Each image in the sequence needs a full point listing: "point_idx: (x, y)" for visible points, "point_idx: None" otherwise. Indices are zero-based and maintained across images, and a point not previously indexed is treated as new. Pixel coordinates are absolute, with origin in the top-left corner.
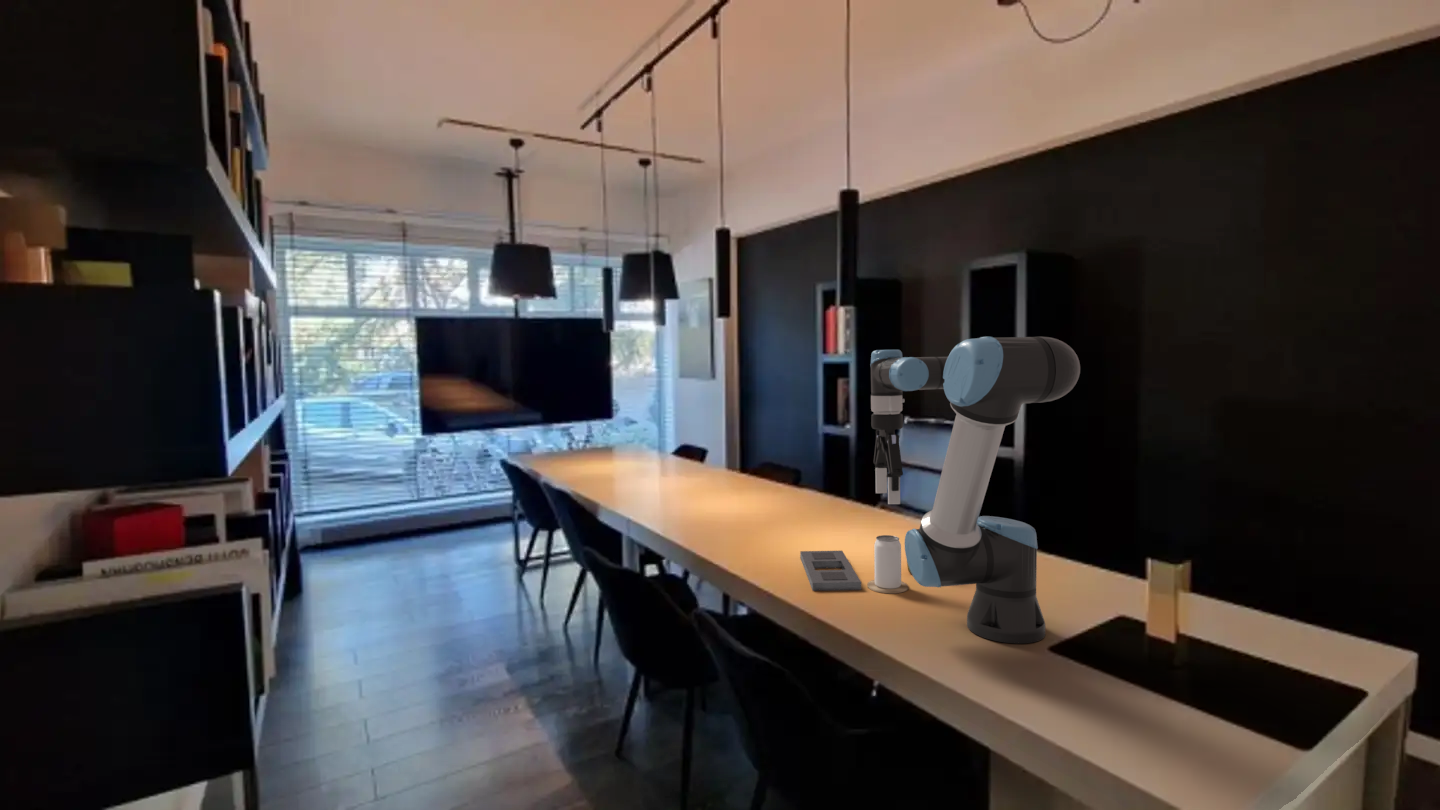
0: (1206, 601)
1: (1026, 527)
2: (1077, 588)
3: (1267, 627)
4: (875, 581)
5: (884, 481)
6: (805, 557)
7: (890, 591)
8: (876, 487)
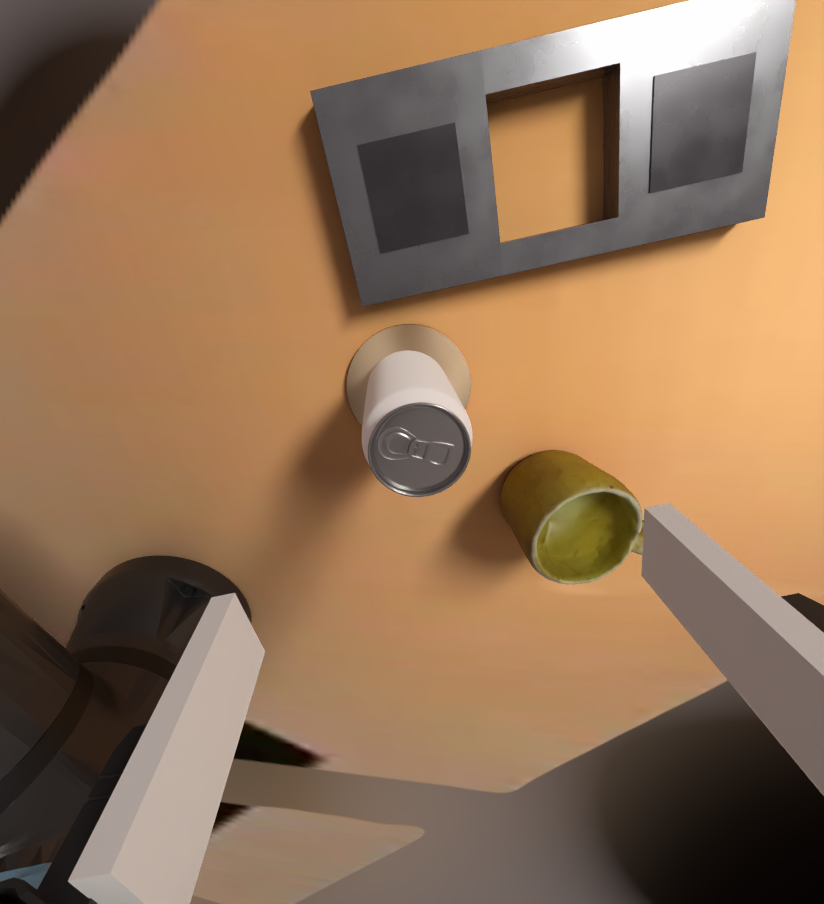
0: (412, 836)
1: None
2: (453, 729)
3: (318, 860)
4: (392, 355)
5: (711, 638)
6: (686, 19)
7: (351, 396)
8: (678, 539)
